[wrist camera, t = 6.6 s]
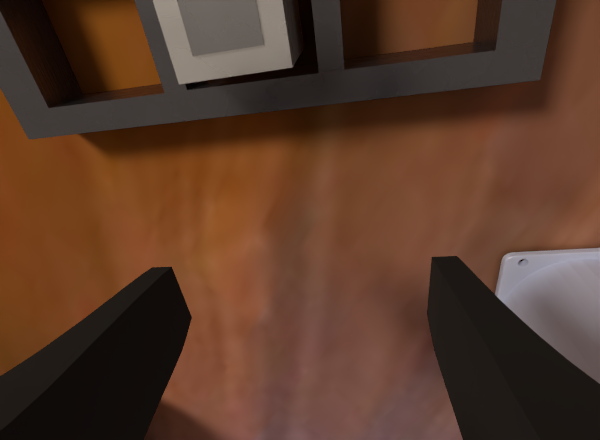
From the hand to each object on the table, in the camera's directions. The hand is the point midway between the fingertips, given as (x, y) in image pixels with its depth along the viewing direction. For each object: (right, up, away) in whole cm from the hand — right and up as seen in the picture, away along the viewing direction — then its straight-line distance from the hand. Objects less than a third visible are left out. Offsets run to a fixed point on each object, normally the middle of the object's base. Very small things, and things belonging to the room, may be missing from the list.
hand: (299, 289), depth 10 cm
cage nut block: (-2, +11, +5) cm, 12 cm away
